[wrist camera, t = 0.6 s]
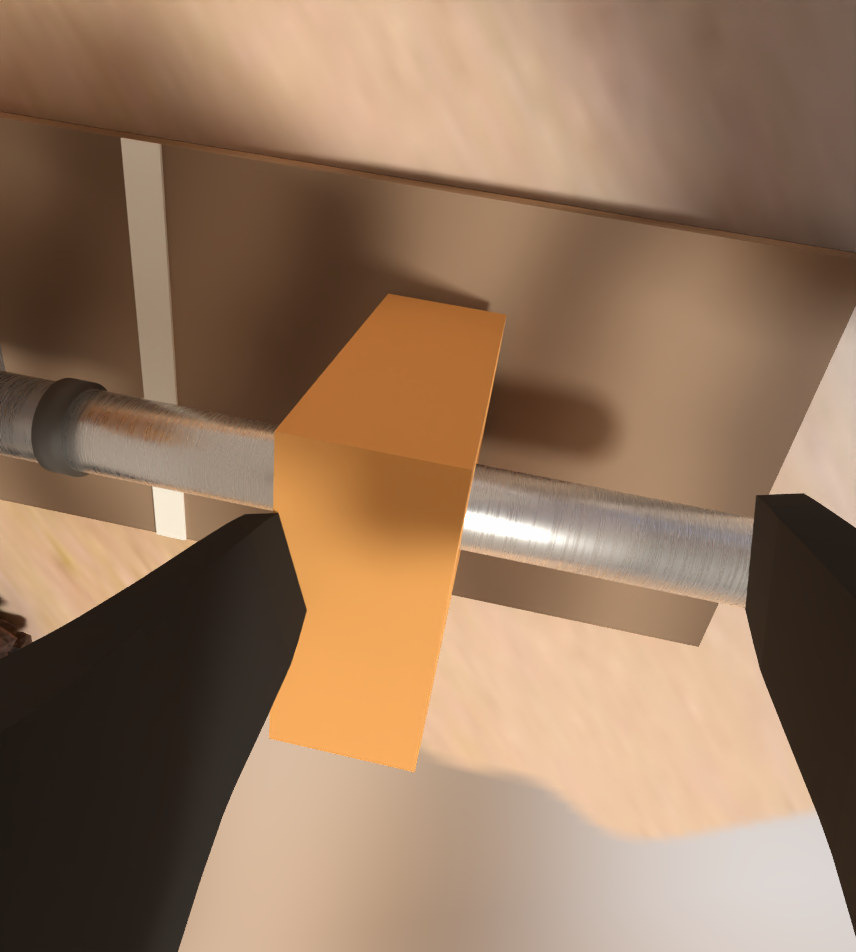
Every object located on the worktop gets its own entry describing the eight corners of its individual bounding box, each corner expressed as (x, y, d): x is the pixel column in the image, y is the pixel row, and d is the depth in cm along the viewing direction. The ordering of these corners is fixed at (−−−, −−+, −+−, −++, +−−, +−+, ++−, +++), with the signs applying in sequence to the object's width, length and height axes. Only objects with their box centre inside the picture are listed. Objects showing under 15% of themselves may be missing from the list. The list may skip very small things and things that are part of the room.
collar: (506, 314, 17) (471, 470, 10) (462, 541, 20) (414, 772, 13) (388, 293, 17) (274, 431, 10) (365, 521, 21) (269, 739, 14)
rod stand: (858, 253, 16) (1036, 349, 10) (693, 625, 22) (743, 822, 16) (-140, 88, 18) (-486, 87, 12) (-40, 472, 24) (-238, 598, 18)
